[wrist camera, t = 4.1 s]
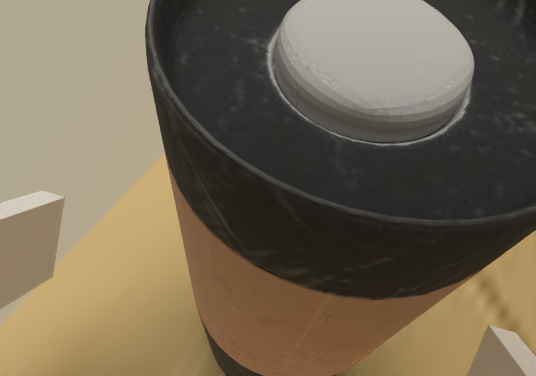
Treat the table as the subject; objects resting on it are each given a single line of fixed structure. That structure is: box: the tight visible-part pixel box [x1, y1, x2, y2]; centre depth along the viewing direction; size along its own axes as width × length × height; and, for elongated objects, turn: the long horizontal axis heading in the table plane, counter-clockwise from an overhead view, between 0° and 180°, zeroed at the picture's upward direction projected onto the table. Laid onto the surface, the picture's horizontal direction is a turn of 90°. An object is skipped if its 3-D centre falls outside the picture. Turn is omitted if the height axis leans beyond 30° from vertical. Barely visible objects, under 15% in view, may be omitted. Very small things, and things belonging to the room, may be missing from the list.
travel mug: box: [145, 0, 536, 376], centre depth 15 cm, size 8×8×20 cm
